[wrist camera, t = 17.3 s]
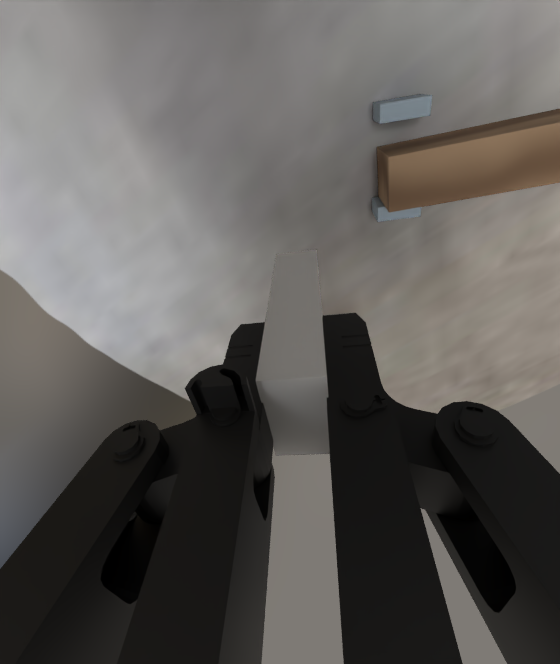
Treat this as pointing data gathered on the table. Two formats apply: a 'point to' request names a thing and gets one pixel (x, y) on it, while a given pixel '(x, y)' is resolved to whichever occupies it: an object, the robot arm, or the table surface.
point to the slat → (470, 162)
